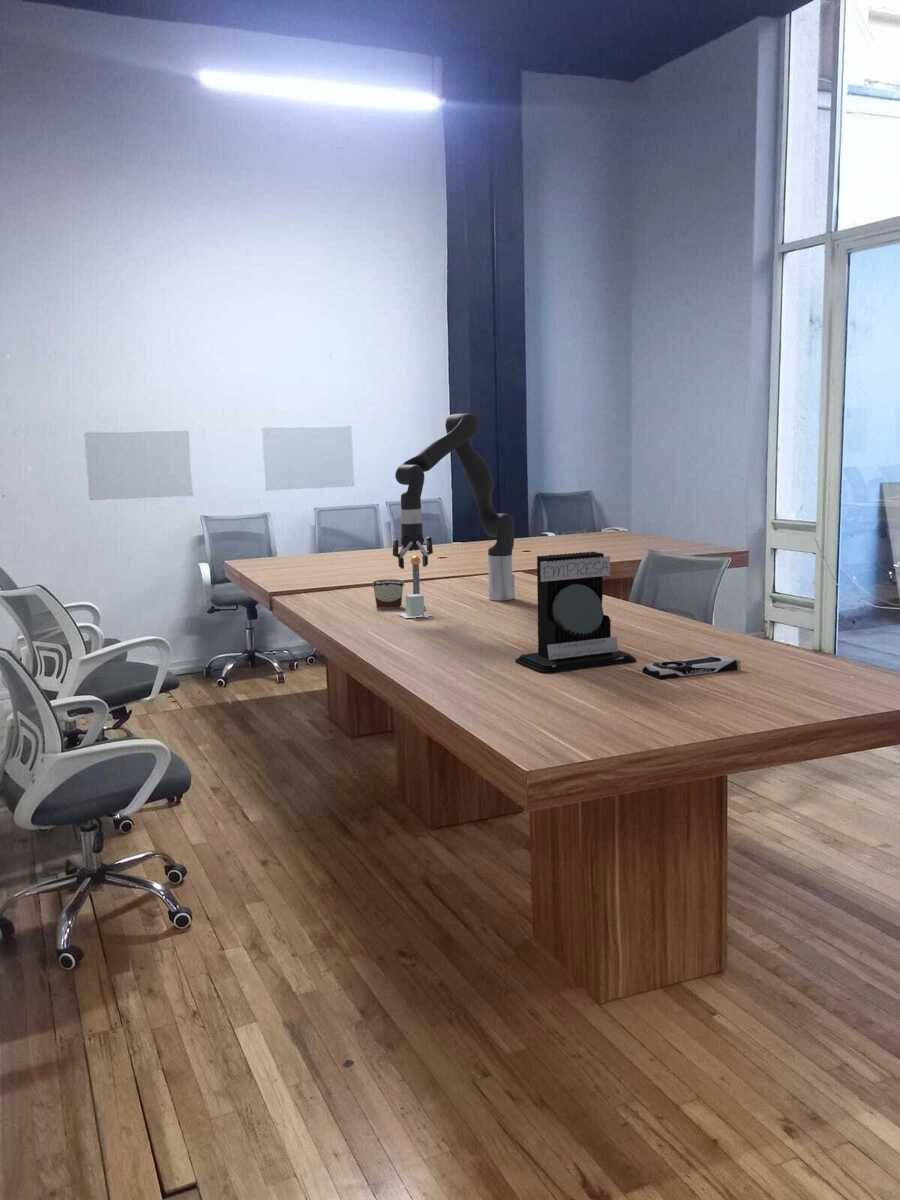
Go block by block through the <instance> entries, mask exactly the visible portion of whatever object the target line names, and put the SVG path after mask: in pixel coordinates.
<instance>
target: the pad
mask: <svg viewBox="0 0 900 1200" xmlns="http://www.w3.org/2000/svg"><path fill="white" fill-rule="evenodd" d="M405 613H406V612H404V613H403V612H401V613H397V614H398V615H400V616H403V617H405V618H411V616H410V617H409V615H407V614H405ZM398 615H397V616H398ZM406 615H407V616H406ZM400 616H399V617H400ZM425 616H433V617H434V615H433V614H430V613H428V612H425V611H424V615H422V616H421V617H425ZM403 617H402V618H403ZM413 617H414V616H413ZM405 618H404V619H405ZM425 618H426V617H425Z"/></svg>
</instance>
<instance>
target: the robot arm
mask: <svg viewBox="0 0 900 1200" xmlns="http://www.w3.org/2000/svg"><path fill="white" fill-rule="evenodd" d="M479 428H480V423H479V420H478V418H477V417H476V416H475V414H473V413H451V414H450V415H448V416H447V418H446V420H445V431H446V434H445V435H443V436H442V437H440V438H438V439H436V440H434V441H432V442H430V443H429V444H427V445H426V446H425V447H424V448H423V449H421V451H420V452H418V453H417V454H416V455H415V456H412V457H411V458H409V459H408V460H406V461H404V462H402V463H401V464H400V465H399V466H398V467H397V468H396V471H395V475H394V477H395V481H397V483H399V484H400V485H404V486H407V490H406V491H405V492H402V493H401V495H400V510H401V511H400V526H401V527H400V528H401V529H400V530H401V531H400V533H401V538H400V539H393V540H392V556H393V557H394V558H395V557H396V558H397V561H398V567H399V568H400V569H401V570H403V569H405V560H404V559H405V558H404V556H405V555H406V554H407V552H412V551H419V552H420V553H421V555H422V556H421V559H422V567H427V566H428V564H429V555H432V554H434V551H433V540H432V537H430V536H426V537H424V536H423V535H424V532H423V531H424V530H423V521H424V520H423V513H422V499H421V498H422V493H423V488H424V483H425V473H427V472H428V471H431V470H432V469H433V468H434V467H435V466H436V465H437V464H438V463H439V462H440V461H441V460H443V459H444V458H445V457H446V456H448V454H450V453H451V452H452V451H454V450H455V452H456V454H457V456H458V459H459V462H460V464H461V466H462V469H463V471H464V474H465V478H466V481H467V482H468V486H469V488H470V491H471V492H472V495H473V498H474V500H475V504H476V506H477V511H478V514H479V518H480V521H481V524H482V528H483V531H484V533H485V534H486V535H487V536H489V537H493V538H496V542H495V544H493V546H492V545H491V546H490V547H488V550H487V555H488V558H487V559H488V561H487V564H488V599H489V600H490V601H497V602H498V601H500V602H502V601H510V600H515V599H516V594H515V592H516V591H515V590H516V589H515V588H516V587H515V583H516V582H515V581H516V580H515V574H514V573H513V549H514V545H515V521H514V518H513V516H512V515H510V514H508V513H499V512H497V511H496V509H495V508H494V505H493V500H492V499H493V498H492V495H493V491H494V484H495V483H494V482H495V481H494V477H493V475H492V472H491V468H490V466H489V465H488V463H487V462H486V461H485V459H484V458H483V457H482V456H481V455H480V454H479V453H478V451H476V449H474V447H473V446H472V444H471V442H470V439H473V438H474V437H475V436H476V435H477V433H478V432H479ZM424 543H425V544H426V549H425V547H424V546H423V544H424ZM400 545H401V549H400V550H399V546H400Z"/></svg>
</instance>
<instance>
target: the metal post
mask: <svg viewBox="0 0 900 1200" xmlns="http://www.w3.org/2000/svg"><path fill="white" fill-rule="evenodd" d="M410 563H411V565H412V588H413V589H412V590H413V592H412V594H420V595H421V588H420V585H421V584H420V583H421V581H420V564H421V558H420V557H419V556H418V555H417V556H416V555H413V556H412V557H411V559H410ZM424 609H425V610H426V605H424Z"/></svg>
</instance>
